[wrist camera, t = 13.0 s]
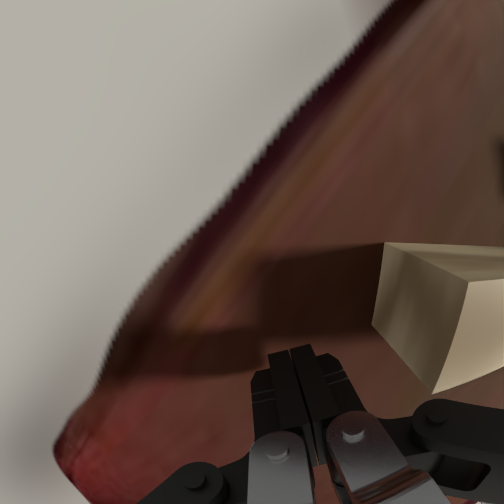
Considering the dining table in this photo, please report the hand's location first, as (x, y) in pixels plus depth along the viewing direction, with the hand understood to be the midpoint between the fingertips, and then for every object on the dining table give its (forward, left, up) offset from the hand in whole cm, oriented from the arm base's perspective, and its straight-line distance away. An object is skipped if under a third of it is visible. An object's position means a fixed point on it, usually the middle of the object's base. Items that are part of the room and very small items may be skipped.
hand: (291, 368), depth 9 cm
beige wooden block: (0, -10, -2) cm, 10 cm away
